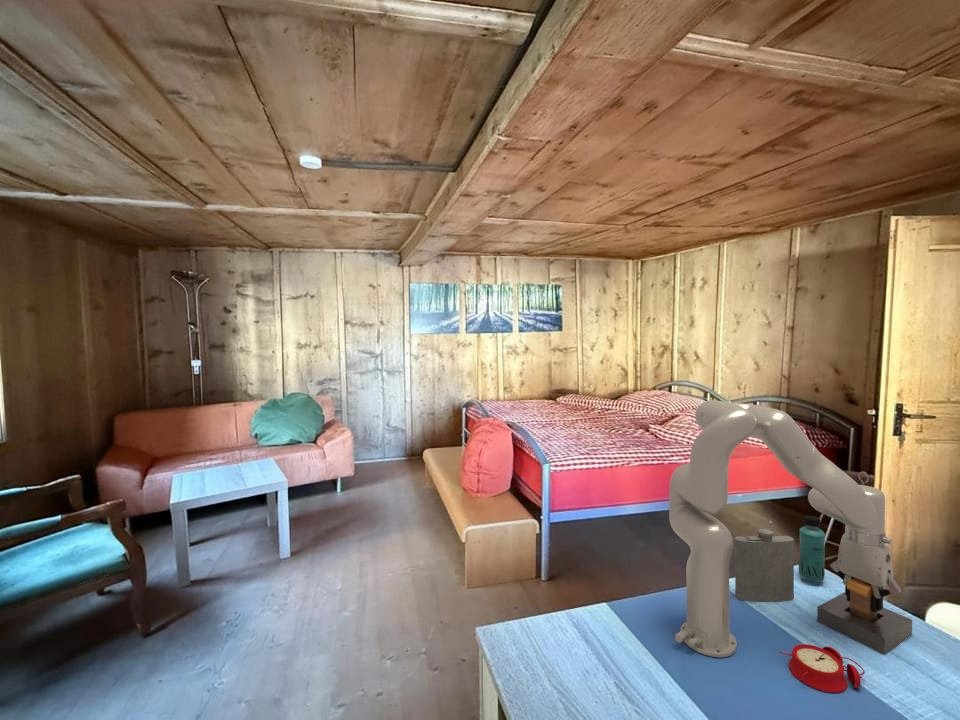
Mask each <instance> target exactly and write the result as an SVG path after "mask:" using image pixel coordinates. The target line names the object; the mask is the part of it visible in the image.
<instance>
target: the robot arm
mask: <svg viewBox="0 0 960 720" xmlns="http://www.w3.org/2000/svg"><path fill="white" fill-rule="evenodd" d="M694 417H695V421H696V423H697V425H698V426H699V427H700V429H702V431H701V432H700V433H699V434H698V435H697V437H696V438H695V439H694V441H693V443H692V445H691V448H690V456H689V463H684V464H681V465H679V466H678V467H676V468H675V470H674V471H673V472H672V474H671V477H670V479H669V480H670V481H669V490H668V492H669V493H668V494H669V499H668V500H669V501H668V504H669V508H668V518H669V519H668V520H669V523H670V527H671V529H672V530H673V532H674V533H675V534H676V535H677V536H678V537H679V538H680V539H681V540H682V541H683V542H684V543H685V544H687V545H688V547H689V549H690V554H689V556H688V559H687V562H686V569H685V571H686V572H685V573H686V574H685V577H686V581H685V582H686V621H685V622H683V624H682V625H681V626H680V631H679V632H677V633H675V634H674V639H675V641H676V642H677V643H679V644H680V643H682V642H684V643H685V644H686V645H687V646H688V647H689V648H691V649H692V650H694V651H695V652H697V653H699V654H702V655H705V656H709V657H713V658H726V657H730V656H732V655H733V654H735V653H736V651H737V649H738V648H737V647H738V643H737V639H736V637H735V636H734V635H733V633H732V632H731V631H730V566H731V559H732V554H733V550H734V539H733V535H732V534H731V532H730V529H728V527H727V526H726V525H725V524H724V523H723V522H722V521H720V520H719V519H718V518H716V517H714V516H713V515H715V514H716V515H717V514H720V513H721V512H723V510H725V508H726V506H727V504H728V499H729V495H728V494H729V467H730V465H729V464H730V459H731V455H732V454H733V452H734V451H735V449H736V448H737V447H738V446H739V445H740V444H742V443H744V441H746V440H748V439H749V438H750V437H752V438H756V439H758V440H761V441H762V442H763V443H764V445H765V446H766V447H767V448H768V450H769V451H770V452H771V453H772V454H773V456H774V457H775V458H776V459H777V460H778V462H779V463H780V464H781V465H782V467H783V468H784V469H785V470H786V471H787V472H788V473H790V474H791V475H792V476H794V478H796V479H797V480H799V481H801V482H803V483H804V484H806V485H808V486H809V487H811V489H810V490H809V492H808V495H807V500H808V503H809V505H810V506H811V507H813V509H814V510H815V511H817V512H819V513H821V514H823V515H825V516H827V517H829V518H832V519H834V520H835V521H838V522H840V523H842V524H845V525H844V526H845V527H844V529H845V530H844V531H845V532H844V533H843V535H841V539H840V544H839V547H838V554H837V556H838V557H837V559H836V560H834V561H833V562H832V563H831V564H830V565H829V566H830V567H831V569H832V570H833V571H834V572H835V573H837V575H838V577H839V578H840V579H841V580H842V583H843V585H844V586H845V587H844V588H845V589H844V592H845V595H847V601H849V602H850V590H849V589H847V581H849V580H851V579H853V578H857V579H859V580H862V581H864V582H867V583H869V584H871V585H872V588H873V592H874V595H873V596H872V598H871V611H872V612H874V613H876V612H878V611H879V610H882V608H883V607H884V597H888V596H889V595H890V596H891V595H896V594H897V595H898V594H900V593H901V592H902V589H901V588H900V586H899V585H898V583H897V581H896V580H895V579H894V567H893V566H894V564H893V558H892V553H891V549H890V547H889V545H891V544H892V540H893V539H892V538H888V537H887V535H886V532H885V525H886V523H885V521H886V517H885V515H886V495H885V493H884V492H883V491H882V490H881V489H879V488H876V487H873V486H869V485H864V484H863V485H862V484H858V483H857V482H856V481H855V480H854V478H852V477H851V476H850V475H848V474H847V473H846V472H845V471H843V469H841V468H840V467H838V466H837V465H836V464H835V463H834V462H832V461H831V460H830V459H828V458H827V456H824V455H823V454H822V453H821V452H820V451H819V450H818V448H817V447H816V446H815V445H814V443H812V441H811V440H810V439H809V438H808V436H807V435H806V434H805V433H804V431H803V429H802V428H801V427H800V426H799V425H798V423H797V422H796V421H795V420H794V419H793V418H792V416H790V414H788V413H787V412H786V411H783V410H780V409H777V408H772V407H768V406H764V405H763V406H762V405H759V404H750V403H742V402H741V403H740V402H733V401H732V402H731V401H723V400H716V399H713V400H712V399H711V400H707V401H704V402H702V403H701V404H699V405H698V406H697V408H696V409H695V414H694ZM886 585H888V586H889V587H887V588H885V587H886Z"/></svg>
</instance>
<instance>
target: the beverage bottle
mask: <svg viewBox="0 0 960 720" xmlns="http://www.w3.org/2000/svg"><path fill="white" fill-rule="evenodd" d="M803 524H805V525H804V526H802V527H800V528H799V550H798V553H799V554H798V573H799V576H800V577H802V579H804V580H806V581H810V582H815V583H821V582H823V581H824V580H825V575H826V574H825V568H826V567H825V566H826V565H825V563H826V559H825V555H826V553H825V552H826V550H825V549H826V545H825V544H826V543H825V542H826V534H825V532H824V531H823V530H822V529H821V528H820V527H822V523H821V519H820V517H817V516H814V515H804V519H803Z"/></svg>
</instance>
